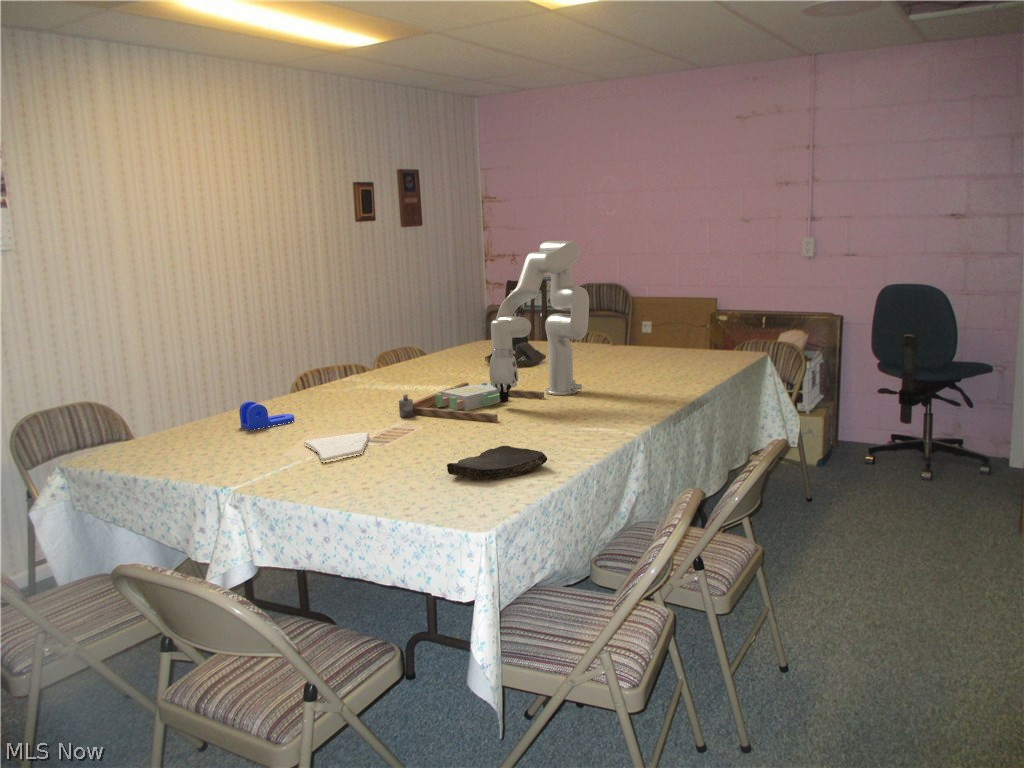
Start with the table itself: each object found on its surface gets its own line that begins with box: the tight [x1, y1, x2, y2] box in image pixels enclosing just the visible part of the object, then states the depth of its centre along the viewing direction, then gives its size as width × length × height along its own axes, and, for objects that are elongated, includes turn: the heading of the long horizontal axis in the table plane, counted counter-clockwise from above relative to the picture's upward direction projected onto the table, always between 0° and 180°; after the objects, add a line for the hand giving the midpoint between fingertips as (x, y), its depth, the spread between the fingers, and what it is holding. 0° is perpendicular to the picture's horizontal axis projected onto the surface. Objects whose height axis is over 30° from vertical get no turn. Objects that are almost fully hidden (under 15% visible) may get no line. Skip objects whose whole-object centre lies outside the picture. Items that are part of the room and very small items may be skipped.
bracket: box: [239, 400, 295, 431], centre depth 295 cm, size 18×8×9 cm, turn 130°
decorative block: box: [434, 382, 500, 411], centre depth 316 cm, size 26×6×20 cm
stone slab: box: [446, 445, 548, 481], centre depth 231 cm, size 26×7×20 cm
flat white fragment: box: [304, 432, 370, 462], centre depth 260 cm, size 21×4×25 cm
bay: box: [398, 382, 545, 423], centre depth 309 cm, size 38×46×8 cm
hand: (504, 401), depth 306 cm, fingers closed
